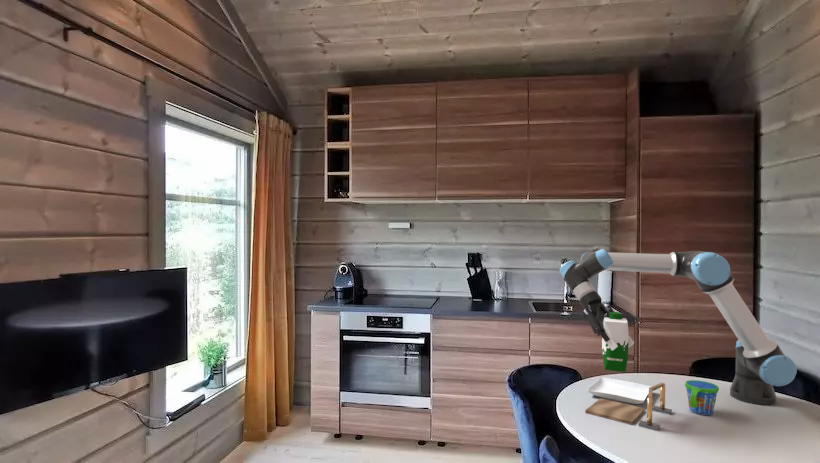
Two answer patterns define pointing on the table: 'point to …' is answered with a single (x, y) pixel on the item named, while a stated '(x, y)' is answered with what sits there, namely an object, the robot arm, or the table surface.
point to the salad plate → (619, 390)
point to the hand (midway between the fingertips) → (623, 346)
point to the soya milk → (620, 335)
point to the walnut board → (615, 411)
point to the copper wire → (655, 407)
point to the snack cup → (701, 396)
